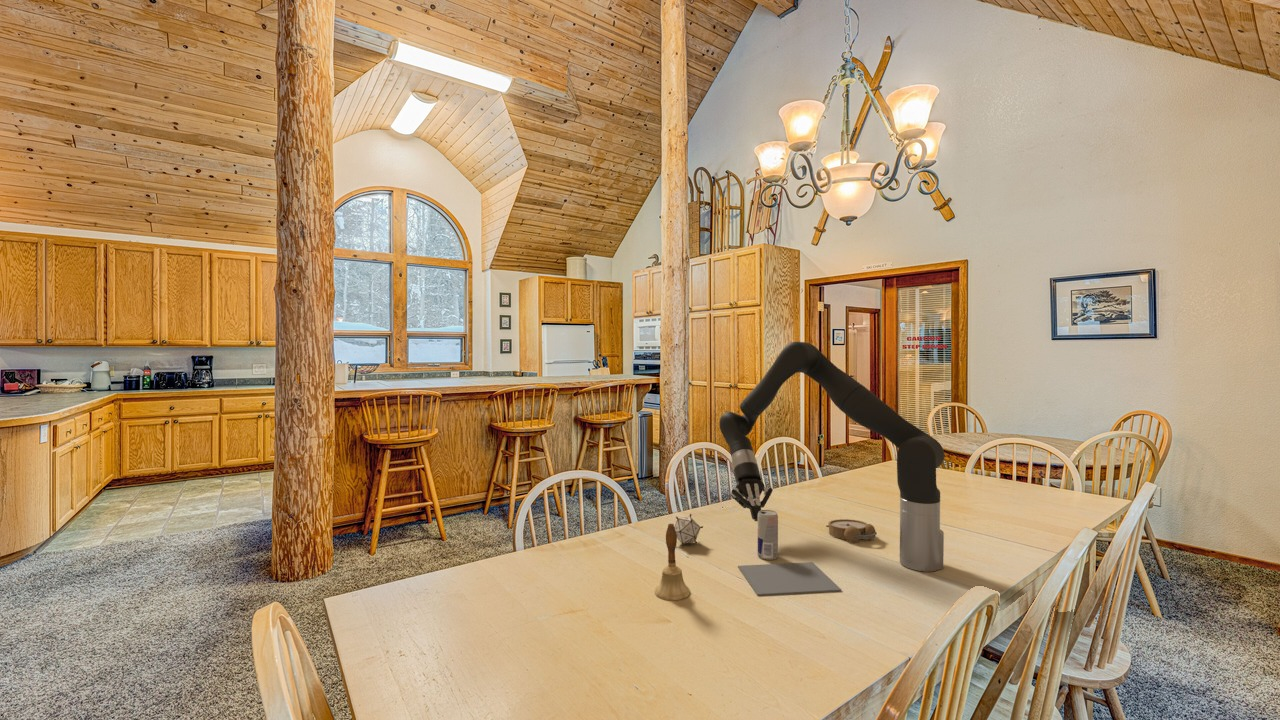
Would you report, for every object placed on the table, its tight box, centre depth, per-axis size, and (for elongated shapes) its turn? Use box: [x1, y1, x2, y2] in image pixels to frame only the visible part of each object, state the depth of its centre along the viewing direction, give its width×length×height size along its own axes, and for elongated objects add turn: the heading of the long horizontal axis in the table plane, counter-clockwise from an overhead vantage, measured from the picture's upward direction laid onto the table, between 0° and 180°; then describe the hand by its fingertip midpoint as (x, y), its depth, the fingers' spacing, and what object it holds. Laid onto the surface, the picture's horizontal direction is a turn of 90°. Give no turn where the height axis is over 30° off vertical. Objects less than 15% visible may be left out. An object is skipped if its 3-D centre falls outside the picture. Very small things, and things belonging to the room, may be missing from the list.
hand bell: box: [654, 523, 691, 602], centre depth 125 cm, size 8×8×16 cm
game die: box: [674, 513, 704, 547], centre depth 156 cm, size 9×8×10 cm
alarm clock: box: [825, 518, 878, 544], centre depth 161 cm, size 11×5×15 cm
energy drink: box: [757, 509, 779, 561], centre depth 146 cm, size 5×5×12 cm
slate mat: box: [737, 561, 842, 597], centre depth 133 cm, size 20×16×1 cm
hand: (758, 519), depth 155 cm, fingers closed
